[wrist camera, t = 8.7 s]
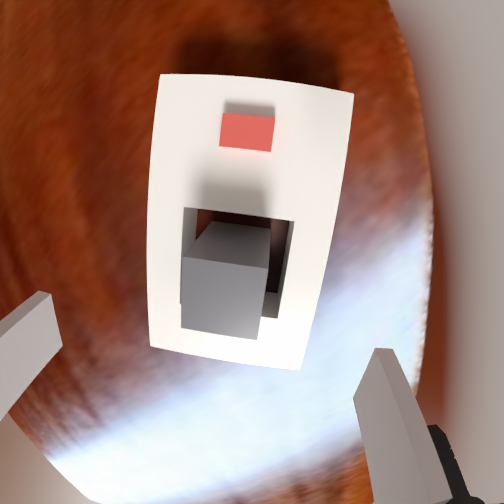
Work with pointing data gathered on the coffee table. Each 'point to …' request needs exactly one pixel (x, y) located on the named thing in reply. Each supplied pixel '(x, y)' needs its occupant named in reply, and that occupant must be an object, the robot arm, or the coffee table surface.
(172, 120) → the socket plate
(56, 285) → the coffee table surface
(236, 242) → the plug
